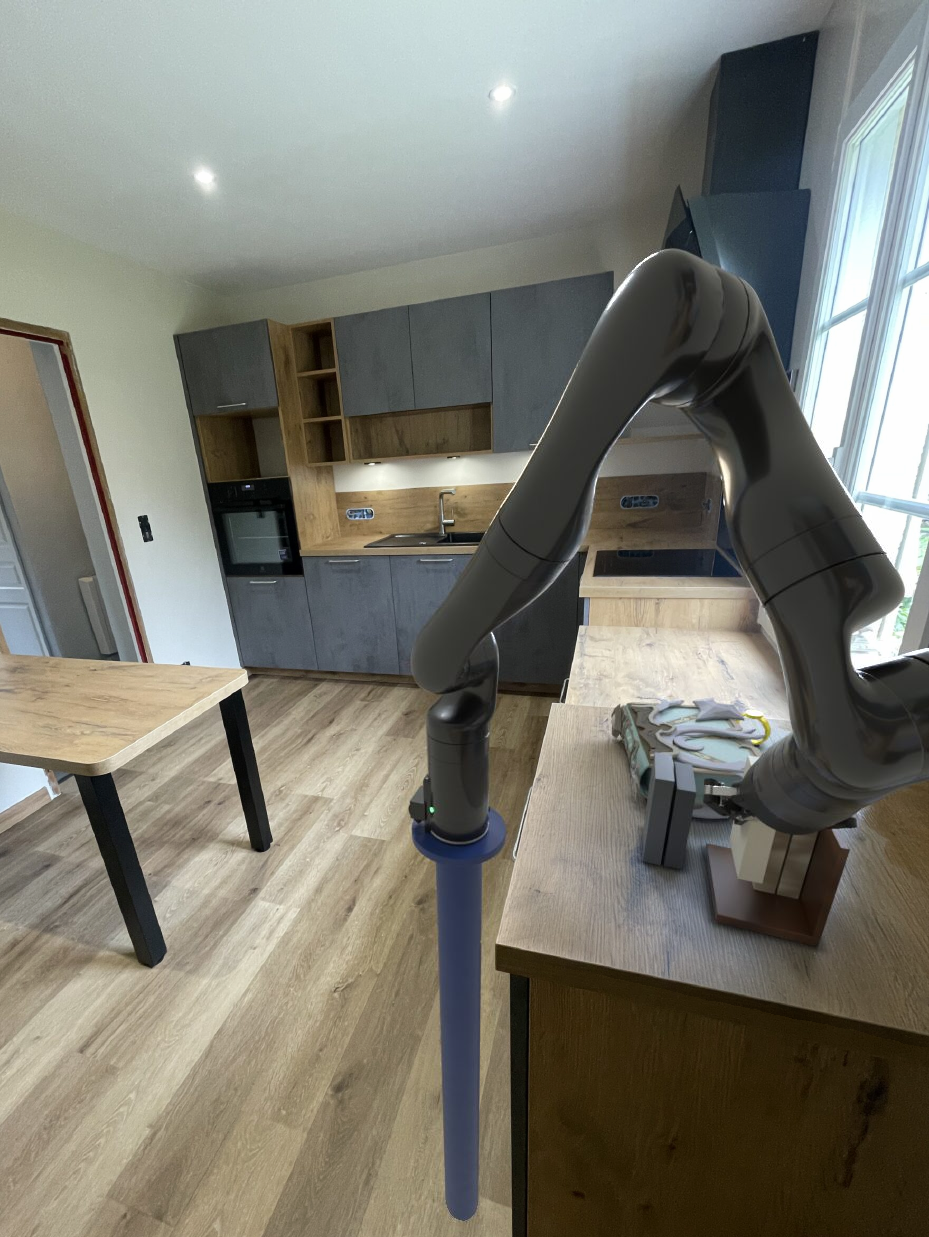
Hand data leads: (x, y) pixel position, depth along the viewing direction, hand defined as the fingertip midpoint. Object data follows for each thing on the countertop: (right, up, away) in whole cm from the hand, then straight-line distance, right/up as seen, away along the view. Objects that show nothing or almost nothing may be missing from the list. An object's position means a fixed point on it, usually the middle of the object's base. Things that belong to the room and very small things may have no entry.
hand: (752, 818), depth 61 cm
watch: (+24, +4, +39) cm, 46 cm away
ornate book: (+7, -1, +30) cm, 31 cm away
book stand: (+3, -11, +5) cm, 12 cm away
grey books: (-5, -8, +12) cm, 15 cm away
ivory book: (0, -5, +1) cm, 5 cm away
